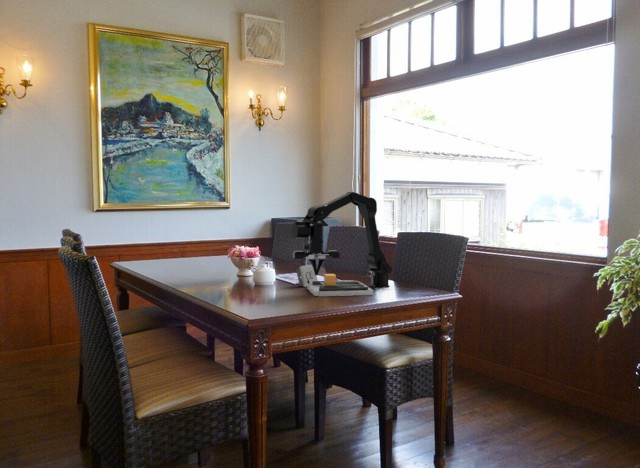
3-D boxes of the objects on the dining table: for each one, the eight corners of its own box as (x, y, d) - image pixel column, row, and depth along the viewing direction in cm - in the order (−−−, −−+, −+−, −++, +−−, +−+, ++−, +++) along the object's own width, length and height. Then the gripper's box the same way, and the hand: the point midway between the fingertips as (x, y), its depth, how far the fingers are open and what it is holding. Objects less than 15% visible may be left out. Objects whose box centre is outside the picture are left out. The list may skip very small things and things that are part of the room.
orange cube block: (333, 285, 236) (333, 273, 236) (336, 287, 231) (336, 275, 231) (324, 285, 235) (324, 274, 235) (326, 287, 230) (326, 275, 230)
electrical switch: (305, 287, 244) (303, 266, 244) (296, 287, 247) (294, 266, 247) (318, 285, 251) (317, 264, 251) (309, 284, 254) (308, 264, 254)
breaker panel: (361, 287, 245) (362, 279, 245) (373, 294, 228) (373, 286, 227) (307, 288, 241) (307, 280, 241) (314, 296, 223) (314, 287, 223)
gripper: (334, 235, 240) (334, 271, 241) (291, 236, 237) (291, 272, 238) (340, 237, 229) (339, 275, 231) (294, 238, 226) (294, 276, 227)
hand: (316, 275), depth 232 cm, fingers closed
